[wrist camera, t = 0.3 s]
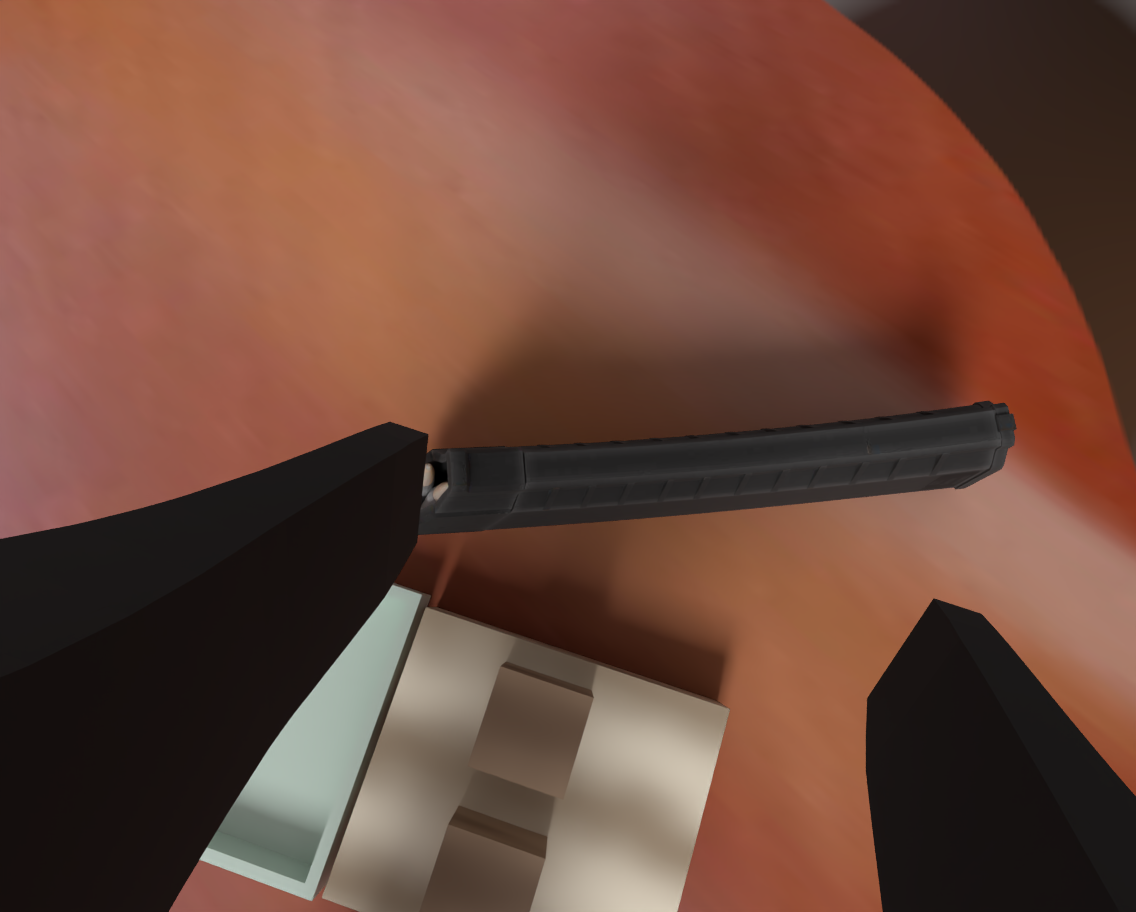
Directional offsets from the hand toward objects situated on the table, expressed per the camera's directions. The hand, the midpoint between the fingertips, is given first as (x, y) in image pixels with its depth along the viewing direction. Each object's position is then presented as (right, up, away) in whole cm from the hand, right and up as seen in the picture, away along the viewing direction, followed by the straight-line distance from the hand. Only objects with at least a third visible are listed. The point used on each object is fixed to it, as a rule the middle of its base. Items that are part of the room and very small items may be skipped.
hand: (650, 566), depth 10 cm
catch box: (-16, -11, +28) cm, 34 cm away
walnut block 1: (-3, -11, +25) cm, 27 cm away
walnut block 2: (-5, -18, +23) cm, 30 cm away
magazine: (+5, 0, +30) cm, 31 cm away
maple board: (-3, -16, +27) cm, 31 cm away
